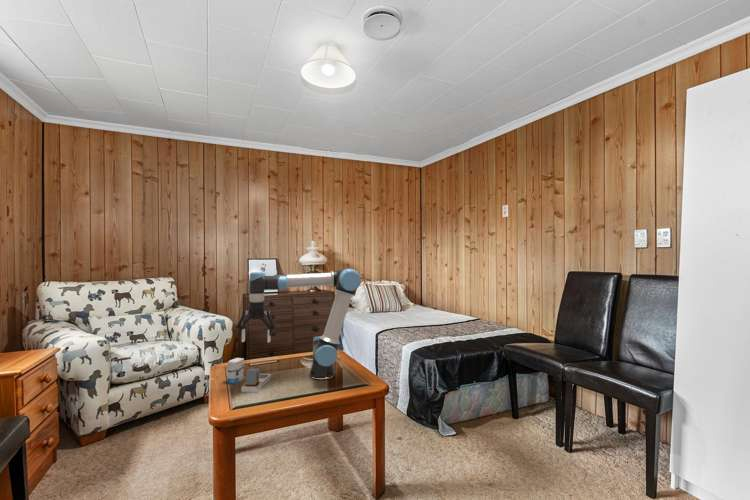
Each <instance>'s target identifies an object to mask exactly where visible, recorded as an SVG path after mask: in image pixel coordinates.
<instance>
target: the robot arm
mask: <svg viewBox="0 0 750 500" xmlns="http://www.w3.org/2000/svg"><path fill="white" fill-rule="evenodd" d="M265 274H266V273H265V272H263V271H252V272H250V273H249V285H248V286H249V288H248V289H249V295H248V298H249V299H248V301H249V303H248V304H249V305H248V306H249V307H248V310H246V309H245V310H243V311H242V315H241V317H240V319H239V322H237V325H236V328H237V329H239V336H241V343H244V342H246V326H247V325H248V324H249V323H250V322H251V320H260V321H262V322H263V324H264V325H265V326H266V327H267V328H268V329H267V343H268V344H269V343H270V342H271V338H272V336H273V329H276V328H277V325H276V324H275V321H274V318H273V317H272V314H271V310H265V302H264V301H265V291H270V290H271V291H282V290H283V291H284V290H287V289H288V288H301V287H302V288H303V287H305V288H306V287H323V286H324V287H325V286H328V287H329V286H331V287H332V288H334V290H335V292H336V294H335V298H334V300H333V304H332V306H331V309H330V313H329V316H328V319H327V322H326V325H325V328H324V332H323V335H321V336H320V335H319V336H318V335H317V336H314V337H313V339H312V340H313V341H312V364H311V367H310V370H309V372H308V376H310V377H314V378H325V377H331V376H333V375H335V376H336V374H335V373H336V369H335V366H334V364H335V362H336V361H337V359H338V350H339V347H340V344H341V343H340V341H339V338H340V336H341V335H340V334H341V331H342V329H343V325H344V323H345V319H346V315H347V312H348V310H349V306H350V304H351V299H352V298H353V297H354V296H356V293H357V290H358V288H359V287H360V286H361V283H362V278H361V275H360V273H359V272H358V271H357V270H356V269H353V268H342V269H337V270H331V271H329V272H314V273H292V274H289V273H287V274H274V275H265ZM247 315H249V317H248V318H247V319H246V317H247ZM265 315H266V317H267V318H266V317H265ZM245 319H246V320H245ZM310 377H309V378H310Z"/></svg>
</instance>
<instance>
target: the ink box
mask: <svg viewBox="0 0 750 500" xmlns="http://www.w3.org/2000/svg"><path fill="white" fill-rule="evenodd" d="M244 367H245V358H241V357H235V358H233V359H230V360H228V362H227V381H226V382H227V384H230V385H231V384H232V385H235V384H237V383H240V382H241V381H242V380H243V381H244V375H245V374H244V370H245V368H244Z"/></svg>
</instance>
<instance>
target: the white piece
mask: <svg viewBox="0 0 750 500" xmlns="http://www.w3.org/2000/svg"><path fill="white" fill-rule="evenodd" d="M271 379H272V373H259V384H258V385H257V386H246V382H245V383H243V384H242V386H241V387H240V392H241V393H258V392H260V390H261V389H262V388H263V387H264V386H265V385H266V384H267V383H268V382H269V381H270V380H271Z"/></svg>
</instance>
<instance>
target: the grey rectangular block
mask: <svg viewBox="0 0 750 500" xmlns="http://www.w3.org/2000/svg"><path fill="white" fill-rule="evenodd" d="M259 374H260V368H257V367H256V368H255V367H250V368H248V369H247V370H246V372H245V376H246V377H245V383H246V386H257V385H258V384H259Z"/></svg>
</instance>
